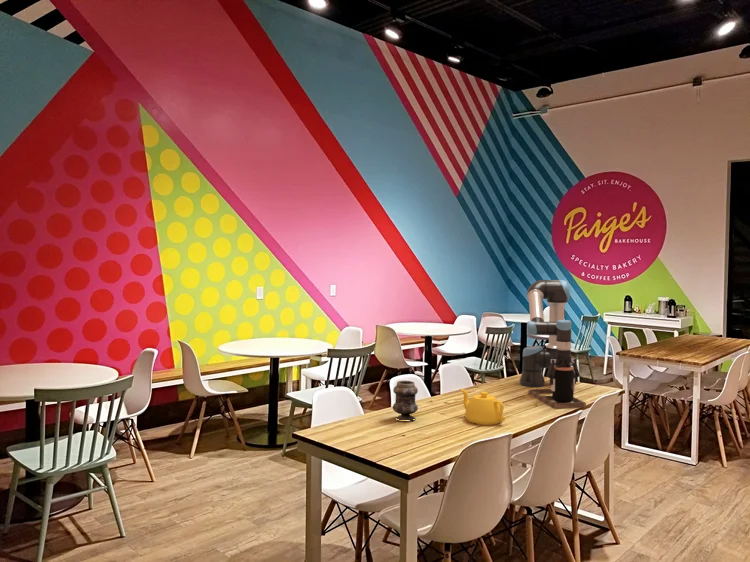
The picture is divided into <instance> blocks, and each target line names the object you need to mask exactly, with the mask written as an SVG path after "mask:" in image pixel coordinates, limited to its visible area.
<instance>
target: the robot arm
mask: <svg viewBox="0 0 750 562" xmlns="http://www.w3.org/2000/svg"><path fill="white" fill-rule="evenodd" d="M526 297H527V301H528V304H529V305H528V306H529V307H528V308H529V321H528V320H527V322H526V331H527V332H526V333H527V335H533V336H548V344H546V345H545V348H544V347H543V346H541V345H540V346H539V345H536V346H535V345H534V346H532V345H531V346H528V347H524V348H523V350H522V372H521V376H520V378H519V385H520V386H524V387H530V388H531V387H532V388H539V387H541V388H542V387H544V386H545V385H546V380H545V377H547V378H548V379H549V385H550V389H551V390H552V391H555V379H554V377H555V372H556V370H554V369H553V368H554V366H555V365H556V366H555V367H557V368H561V367H571V366H572V367H574V370H573V372H574V392H575V391H576V384H577V379H578V378H580V377H581V374H580V371H579V368H578V363H577V359H576V358H571V356H572V350H571V349H572V321H571V320H569V319H565V305H566V304H567V303H568V301H569V300H570V299H571V292H570V285H569V283H568V281H567V280H562V279H540V280H539V279H538V280H536V281H535V282H533V283H531V285H530V286H529V287H528V288H527V292H526ZM543 300H546V303H547V304H548V305H549V315H548V316H549V317H548V318H549V321H545V317H544V316H545V315H544V305H543V304H544V303H543ZM570 363H571V364H572V365H571V364H570ZM543 369H548V370H547V372H546V376H545V377H544V374H543Z"/></svg>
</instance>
